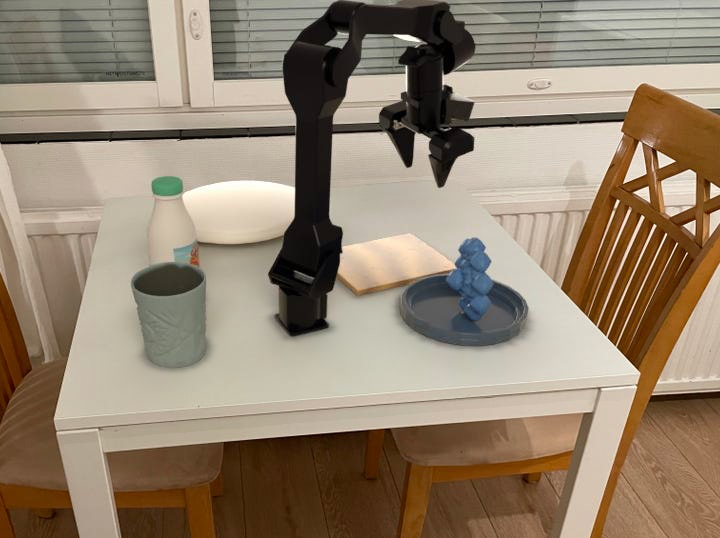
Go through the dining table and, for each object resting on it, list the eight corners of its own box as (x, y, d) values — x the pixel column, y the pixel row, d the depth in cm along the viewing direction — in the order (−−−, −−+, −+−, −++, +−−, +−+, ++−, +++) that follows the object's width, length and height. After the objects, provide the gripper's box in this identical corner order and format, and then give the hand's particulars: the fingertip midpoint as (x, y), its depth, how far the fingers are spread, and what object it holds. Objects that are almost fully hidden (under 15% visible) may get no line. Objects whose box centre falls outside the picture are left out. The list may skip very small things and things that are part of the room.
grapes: (431, 296, 122) (439, 227, 115) (471, 294, 123) (482, 225, 116) (451, 333, 112) (461, 260, 106) (495, 330, 113) (508, 257, 106)
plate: (147, 226, 134) (180, 176, 156) (155, 259, 138) (186, 206, 160) (303, 216, 130) (314, 166, 153) (306, 251, 134) (316, 197, 156)
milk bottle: (161, 315, 117) (148, 193, 106) (148, 294, 123) (134, 175, 112) (208, 305, 120) (200, 185, 109) (193, 285, 126) (184, 168, 115)
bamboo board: (357, 296, 123) (357, 290, 122) (314, 257, 135) (314, 252, 134) (459, 272, 129) (460, 267, 129) (409, 237, 142) (410, 232, 141)
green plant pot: (213, 333, 113) (208, 261, 106) (209, 371, 104) (203, 295, 98) (145, 334, 113) (136, 262, 106) (135, 372, 104) (125, 296, 98)
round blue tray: (445, 358, 107) (447, 345, 106) (377, 299, 122) (378, 287, 120) (552, 329, 114) (555, 316, 112) (475, 276, 128) (477, 264, 127)
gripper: (505, 88, 113) (498, 182, 123) (431, 56, 126) (431, 144, 136) (444, 109, 110) (442, 204, 120) (375, 75, 123) (379, 163, 133)
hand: (424, 176), depth 127 cm, fingers open, 9 cm apart
